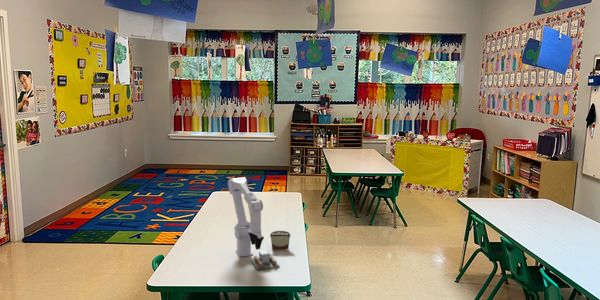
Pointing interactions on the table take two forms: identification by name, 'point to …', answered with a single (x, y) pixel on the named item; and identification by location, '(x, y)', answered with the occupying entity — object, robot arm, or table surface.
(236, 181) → the robot arm
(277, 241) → the food container
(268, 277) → the table surface
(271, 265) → the slot seat
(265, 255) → the steel block
